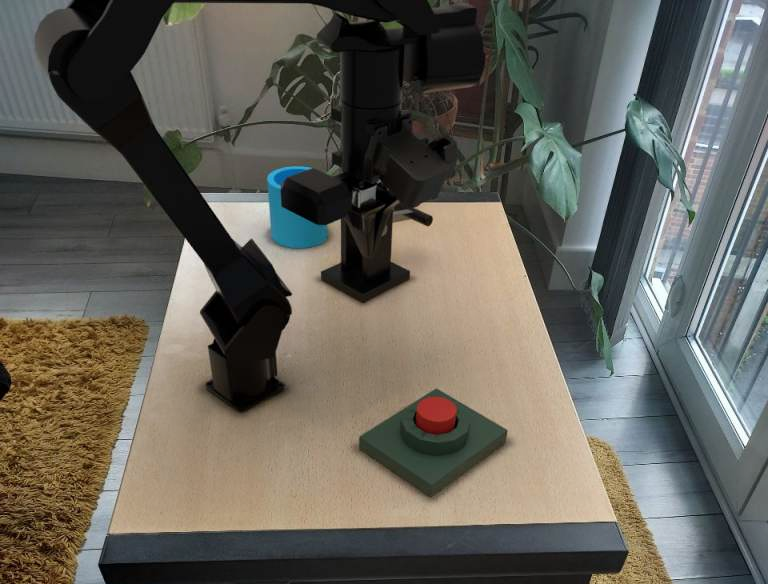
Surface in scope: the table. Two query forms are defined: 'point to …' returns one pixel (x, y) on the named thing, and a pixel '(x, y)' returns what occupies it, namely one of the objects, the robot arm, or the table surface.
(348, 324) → the table surface
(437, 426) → the button
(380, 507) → the table surface
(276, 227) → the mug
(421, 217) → the lever
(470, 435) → the switch
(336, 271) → the lever bracket
